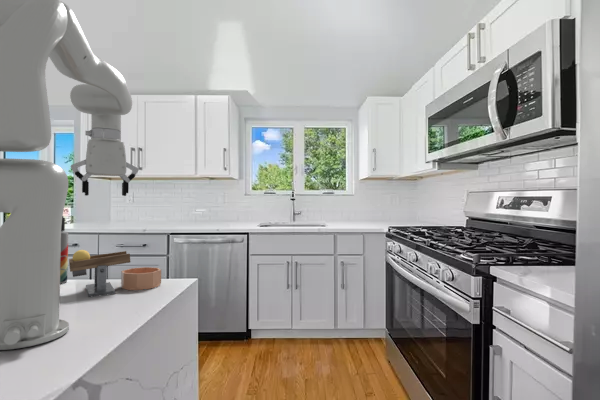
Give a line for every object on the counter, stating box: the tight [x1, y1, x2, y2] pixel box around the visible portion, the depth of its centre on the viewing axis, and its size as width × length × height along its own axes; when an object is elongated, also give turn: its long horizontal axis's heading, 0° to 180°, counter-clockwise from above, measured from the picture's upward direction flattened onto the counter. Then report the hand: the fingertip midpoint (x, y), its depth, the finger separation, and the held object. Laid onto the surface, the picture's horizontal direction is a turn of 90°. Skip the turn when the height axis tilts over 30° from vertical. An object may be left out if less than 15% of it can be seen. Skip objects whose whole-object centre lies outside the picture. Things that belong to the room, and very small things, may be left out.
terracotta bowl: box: [120, 266, 162, 291], centre depth 102 cm, size 10×10×4 cm
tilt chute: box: [68, 250, 131, 278], centre depth 99 cm, size 15×14×4 cm
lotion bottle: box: [60, 215, 69, 285], centre depth 104 cm, size 6×6×20 cm
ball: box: [72, 249, 91, 261], centre depth 93 cm, size 4×4×4 cm
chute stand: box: [85, 265, 116, 298], centre depth 96 cm, size 12×6×8 cm, turn 35°
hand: (105, 195), depth 102 cm, fingers open, 9 cm apart
